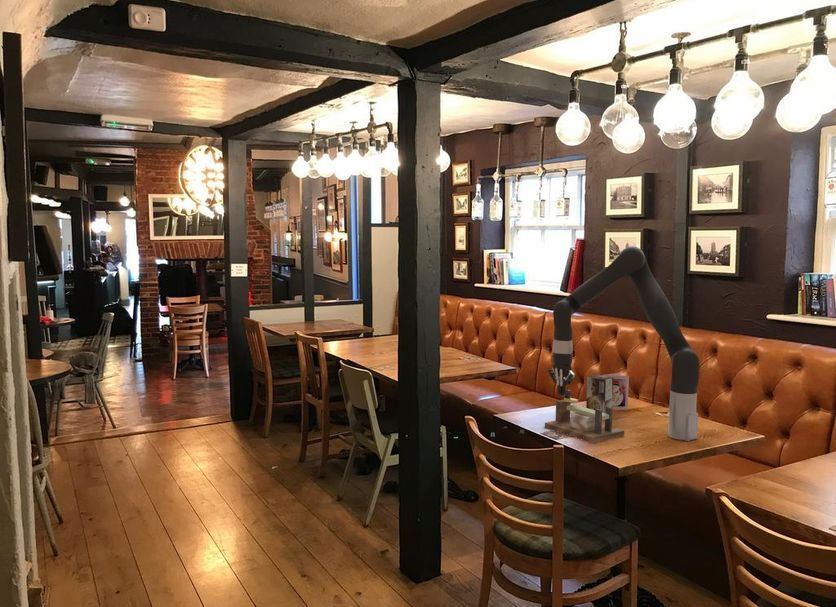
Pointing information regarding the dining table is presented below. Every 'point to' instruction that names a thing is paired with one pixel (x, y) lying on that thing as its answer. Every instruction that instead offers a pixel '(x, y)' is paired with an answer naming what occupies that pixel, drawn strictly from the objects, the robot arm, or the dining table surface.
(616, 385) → the greeting card
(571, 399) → the bolt
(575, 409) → the pale green flat bar
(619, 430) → the latch base
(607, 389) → the coffee box
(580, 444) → the dining table surface
